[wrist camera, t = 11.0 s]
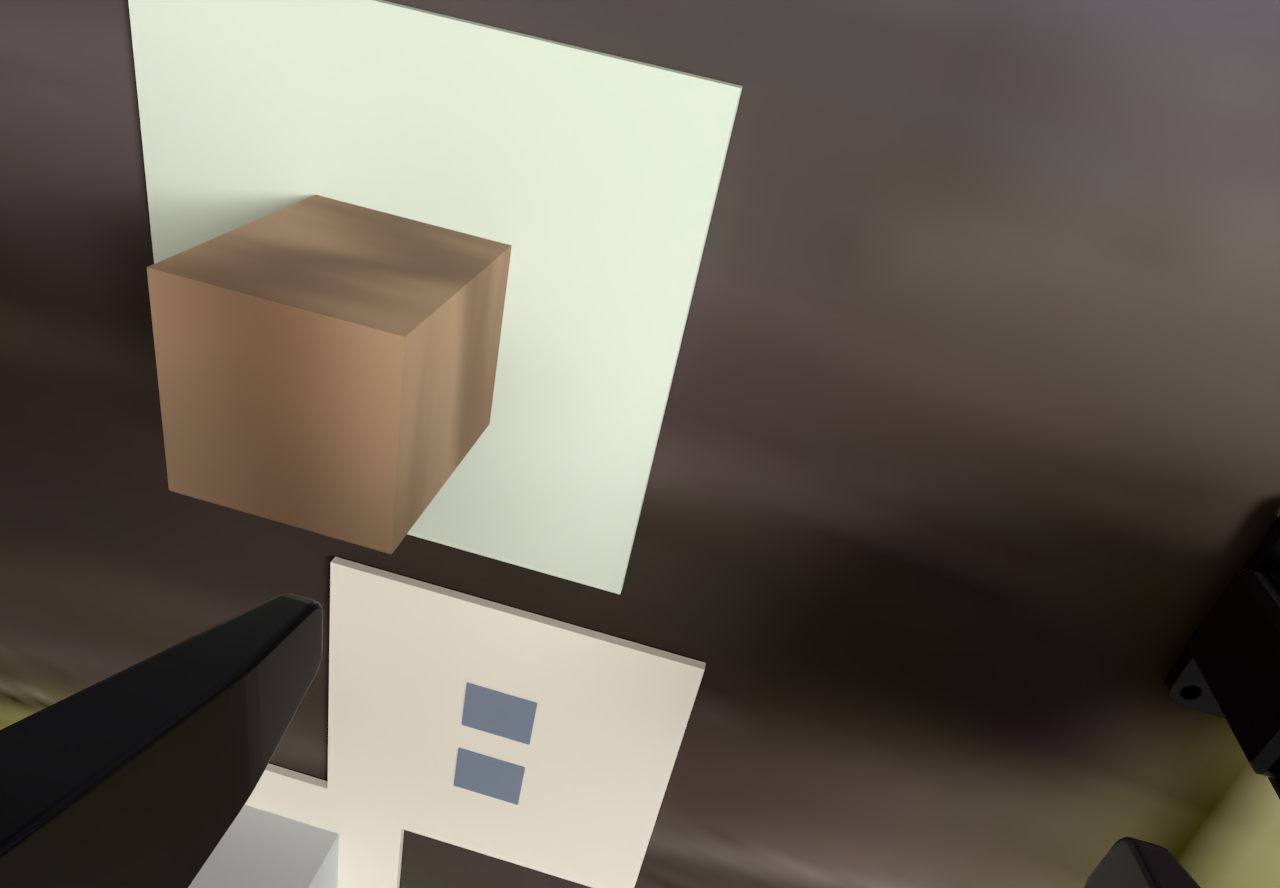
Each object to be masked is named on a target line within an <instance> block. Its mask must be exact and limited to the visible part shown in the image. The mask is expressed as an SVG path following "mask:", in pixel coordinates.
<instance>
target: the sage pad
mask: <svg viewBox="0 0 1280 888" xmlns="http://www.w3.org/2000/svg"><path fill="white" fill-rule="evenodd" d="M128 3H129V13H130V23H131V33H132V43H133V54H134V64H135V74H136V84H137V94H138V105H139V115H140V125H141V135H142V145H143V156H144V166H145V176H146V186H147V197H148V207H149V217H150V227H151V237H152V248H153V258H154V264H156V263H158V262H160V261H163V260H165V259H167V258H169V257H172V256H174V255H176V254H179V253H181V252H183V251H186V250H188V249H190V248H193V247H195V246H197V245H200V244H202V243H204V242H207V241H209V240H211V239H214V238H216V237H218V236H221V235H223V234H225V233H228V232H230V231H232V230H234V229H237V228H239V227H241V226H244V225H246V224H248V223H251V222H253V221H255V220H258V219H260V218H262V217H265V216H267V215H269V214H272V213H274V212H276V211H279V210H281V209H283V208H286V207H288V206H290V205H292V204H295V203H297V202H299V201H302V200H304V199H306V198H309V197H311V196H313V195H319V196H323V197H327V198H331V199H335V200H338V201H342V202H346V203H350V204H354V205H358V206H362V207H365V208H369V209H373V210H377V211H381V212H385V213H389V214H392V215H396V216H400V217H404V218H408V219H412V220H416V221H419V222H423V223H427V224H431V225H435V226H439V227H443V228H446V229H450V230H454V231H458V232H462V233H466V234H470V235H473V236H477V237H481V238H485V239H489V240H493V241H497V242H500V243H504V244H508V245H512V247H511V255H510V263H509V271H508V279H507V287H506V295H505V303H504V311H503V319H502V328H501V336H500V344H499V352H498V360H497V368H496V376H495V384H494V392H493V400H492V408H491V416H490V424H489V425H488V427H487V428H486V429H485V431H484V432H483V433H482V435H481V436H480V437H479V439H478V440H477V441H476V443H475V444H474V445H473V447H472V448H471V449H470V451H469V452H468V453H467V455H466V456H465V457H464V459H463V460H462V461H461V463H460V464H459V465H458V467H457V468H456V469H455V471H454V472H453V473H452V475H451V476H450V477H449V479H448V480H447V481H446V483H445V484H444V485H443V487H442V488H441V489H440V491H439V492H438V493H437V495H436V496H435V497H434V499H433V500H432V501H431V503H430V504H429V505H428V506H427V508H426V509H425V510H424V512H423V513H422V514H421V516H420V517H419V518H418V520H417V521H416V522H415V524H414V525H413V526H412V528H411V529H410V530H409V532H408V533H407V534H408V535H412V536H415V537H419V538H422V539H426V540H429V541H433V542H436V543H440V544H443V545H447V546H451V547H454V548H458V549H461V550H465V551H468V552H472V553H475V554H479V555H482V556H486V557H489V558H493V559H496V560H500V561H503V562H507V563H511V564H514V565H518V566H521V567H525V568H528V569H532V570H535V571H539V572H542V573H546V574H549V575H553V576H556V577H560V578H563V579H567V580H571V581H574V582H578V583H581V584H585V585H588V586H592V587H595V588H599V589H602V590H606V591H609V592H613V593H616V594H620V593H621V590H622V587H623V584H624V580H625V575H626V571H627V567H628V563H629V559H630V554H631V550H632V546H633V542H634V538H635V534H636V529H637V525H638V521H639V517H640V513H641V509H642V504H643V500H644V496H645V492H646V488H647V483H648V479H649V475H650V471H651V467H652V463H653V458H654V454H655V450H656V446H657V442H658V438H659V433H660V429H661V425H662V421H663V417H664V413H665V408H666V404H667V400H668V396H669V392H670V387H671V383H672V379H673V375H674V371H675V367H676V362H677V358H678V354H679V350H680V346H681V342H682V337H683V333H684V329H685V325H686V321H687V317H688V312H689V308H690V304H691V300H692V296H693V291H694V287H695V283H696V279H697V275H698V271H699V266H700V262H701V258H702V254H703V250H704V246H705V241H706V237H707V233H708V229H709V225H710V220H711V216H712V212H713V208H714V204H715V200H716V195H717V191H718V187H719V183H720V179H721V175H722V170H723V166H724V162H725V158H726V154H727V150H728V145H729V141H730V137H731V133H732V129H733V124H734V120H735V116H736V112H737V108H738V104H739V99H740V95H741V91H742V87H743V86H740V85H736V84H732V83H727V82H723V81H719V80H715V79H711V78H706V77H702V76H698V75H694V74H690V73H685V72H681V71H677V70H673V69H669V68H664V67H660V66H656V65H652V64H648V63H644V62H639V61H635V60H631V59H627V58H623V57H618V56H614V55H610V54H606V53H602V52H597V51H593V50H589V49H585V48H581V47H576V46H572V45H568V44H564V43H560V42H556V41H551V40H547V39H543V38H539V37H535V36H530V35H526V34H522V33H518V32H514V31H509V30H505V29H501V28H497V27H493V26H488V25H484V24H480V23H476V22H472V21H468V20H463V19H459V18H455V17H451V16H447V15H442V14H438V13H434V12H430V11H426V10H421V9H417V8H413V7H409V6H405V5H400V4H396V3H392V2H388V1H384V0H128Z"/></svg>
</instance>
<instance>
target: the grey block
mask: <svg viewBox="0 0 1280 888" xmlns="http://www.w3.org/2000/svg"><path fill="white" fill-rule="evenodd" d="M338 850H339V834H338V833H335V832H331V831H328V830H325V829H322V828H319V827H315V826H312V825H309V824H306V823H302V822H299V821H296V820H293V819H290V818H286V817H283V816H280V815H277V814H273V813H270V812H267V811H264V810H261V809H257V808H254V807H251V806H248V805H244V806H243V808H242V809H241V811H240V812H239V814H238V815H237V817H236V818H235V820H234V821H233V823H232V824H231V826H230V827H229V829H228V830H227V831H226V833H225V834H224V836H223V837H222V839H221V840H220V842H219V843H218V845H217V846H216V848H215V849H214V851H213V852H212V853H211V855H210V856H209V858H208V859H207V861H206V862H205V864H204V865H203V867H202V868H201V870H200V871H199V873H198V874H197V875H196V877H195V878H194V880H193V881H192V883H191V884H190V886H189V887H188V888H338Z"/></svg>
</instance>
